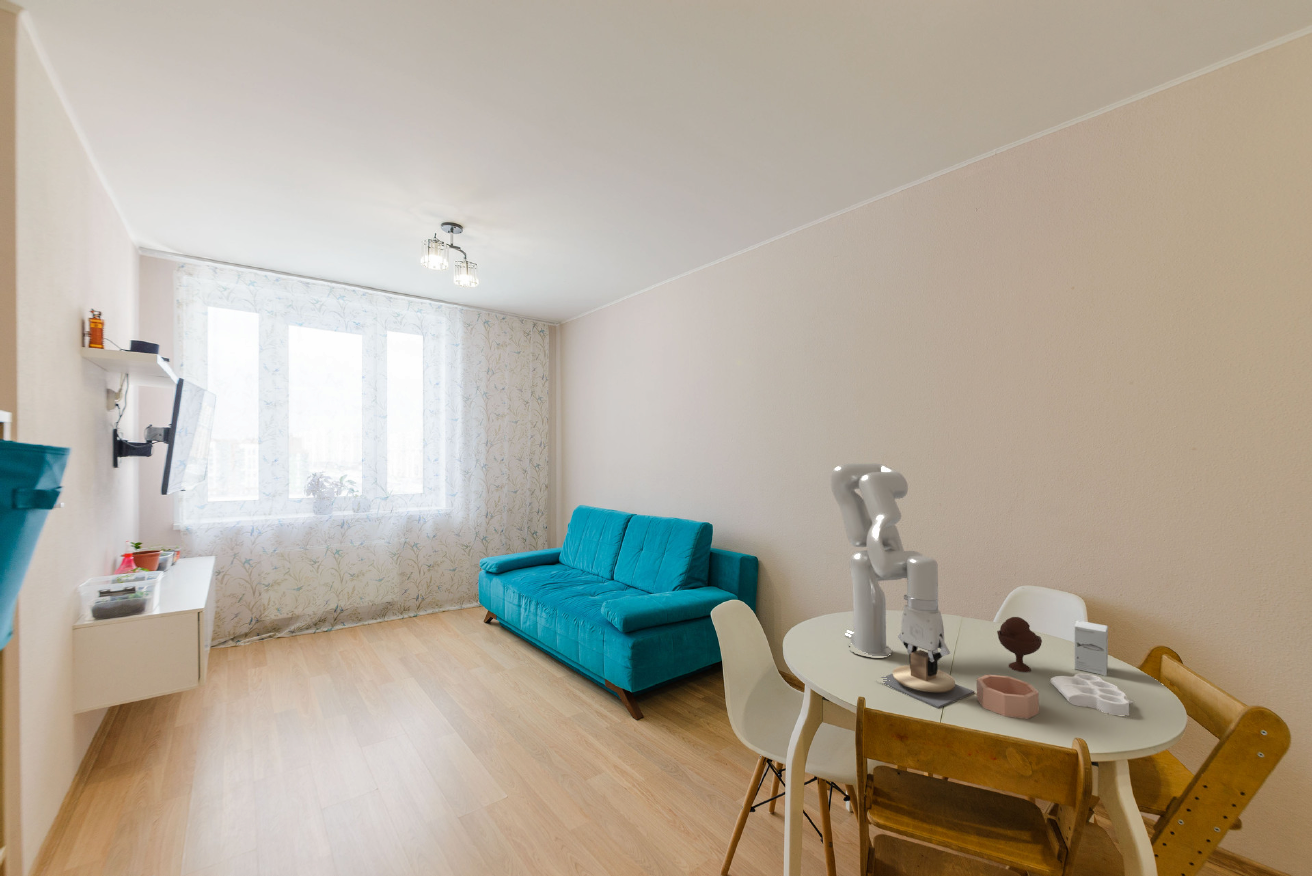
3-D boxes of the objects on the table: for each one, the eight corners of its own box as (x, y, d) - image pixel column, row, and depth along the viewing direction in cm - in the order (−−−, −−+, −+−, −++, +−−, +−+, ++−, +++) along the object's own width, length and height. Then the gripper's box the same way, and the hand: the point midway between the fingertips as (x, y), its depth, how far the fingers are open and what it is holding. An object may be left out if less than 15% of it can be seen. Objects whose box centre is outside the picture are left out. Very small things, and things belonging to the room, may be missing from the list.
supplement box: (1073, 669, 156) (1073, 625, 156) (1076, 661, 161) (1075, 619, 162) (1107, 676, 151) (1106, 631, 151) (1108, 668, 156) (1108, 624, 156)
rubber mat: (875, 681, 149) (875, 679, 149) (911, 668, 157) (911, 667, 157) (938, 708, 133) (938, 706, 133) (974, 693, 141) (974, 691, 142)
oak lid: (881, 675, 148) (880, 650, 148) (914, 663, 156) (914, 640, 156) (933, 697, 135) (932, 670, 135) (967, 683, 143) (966, 657, 143)
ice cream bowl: (1050, 677, 151) (1049, 623, 151) (1006, 674, 153) (1005, 621, 153) (1032, 662, 161) (1031, 611, 161) (990, 659, 163) (990, 609, 163)
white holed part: (1046, 681, 149) (1110, 688, 145) (1074, 712, 132) (1148, 721, 127) (1046, 669, 149) (1110, 675, 145) (1074, 698, 132) (1147, 706, 127)
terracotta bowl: (969, 701, 137) (968, 681, 137) (994, 690, 143) (994, 671, 143) (1020, 722, 126) (1020, 701, 126) (1046, 709, 132) (1045, 689, 133)
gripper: (886, 597, 151) (886, 663, 151) (944, 614, 136) (945, 686, 136) (903, 594, 155) (903, 658, 154) (961, 609, 140) (962, 680, 140)
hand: (923, 670), depth 145 cm, fingers closed on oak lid, 4 cm apart
